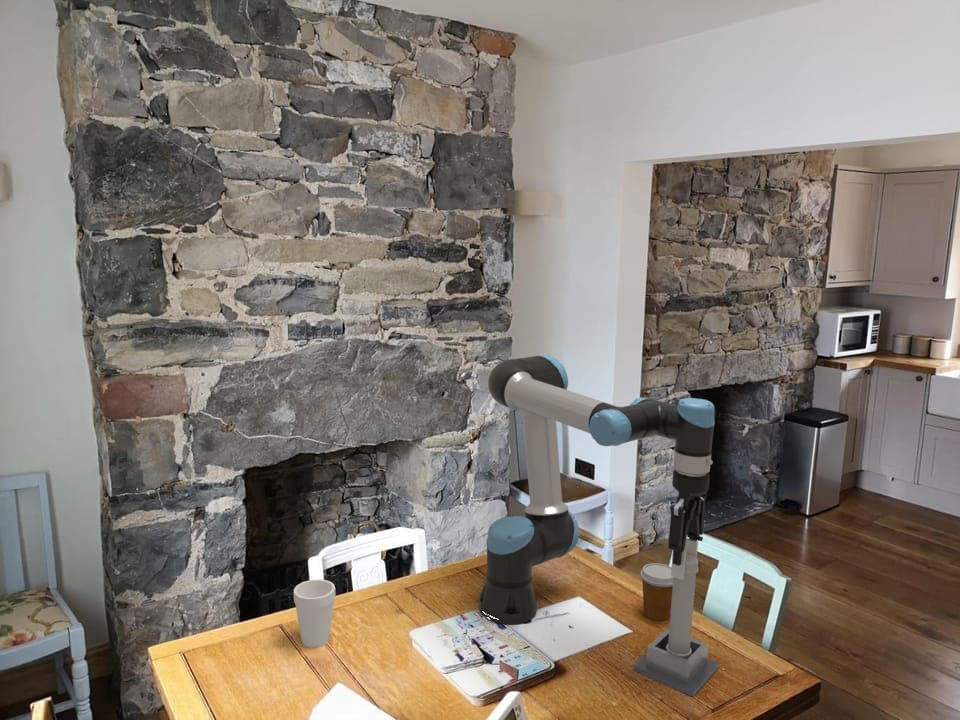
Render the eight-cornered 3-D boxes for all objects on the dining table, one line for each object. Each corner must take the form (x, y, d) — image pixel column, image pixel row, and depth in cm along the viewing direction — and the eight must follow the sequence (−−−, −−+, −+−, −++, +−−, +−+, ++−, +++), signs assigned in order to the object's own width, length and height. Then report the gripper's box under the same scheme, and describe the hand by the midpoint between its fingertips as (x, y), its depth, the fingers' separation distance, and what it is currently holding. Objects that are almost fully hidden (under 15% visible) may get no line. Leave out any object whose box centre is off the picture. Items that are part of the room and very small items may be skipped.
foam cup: (343, 640, 166) (343, 589, 164) (310, 656, 160) (309, 603, 157) (320, 625, 173) (319, 575, 170) (287, 639, 166) (285, 588, 164)
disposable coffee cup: (669, 628, 175) (672, 583, 173) (632, 616, 180) (635, 573, 178) (680, 611, 183) (683, 568, 181) (644, 601, 188) (647, 559, 186)
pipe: (691, 668, 155) (702, 539, 149) (662, 664, 156) (672, 536, 151) (689, 653, 160) (699, 529, 155) (661, 650, 161) (670, 526, 156)
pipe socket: (633, 670, 157) (634, 646, 156) (661, 644, 168) (662, 622, 167) (693, 697, 149) (695, 672, 148) (718, 667, 159) (720, 644, 158)
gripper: (690, 486, 141) (681, 593, 145) (725, 465, 155) (716, 563, 159) (655, 477, 146) (648, 581, 150) (692, 457, 160) (684, 553, 164)
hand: (683, 572), depth 154 cm, fingers closed on pipe, 5 cm apart
